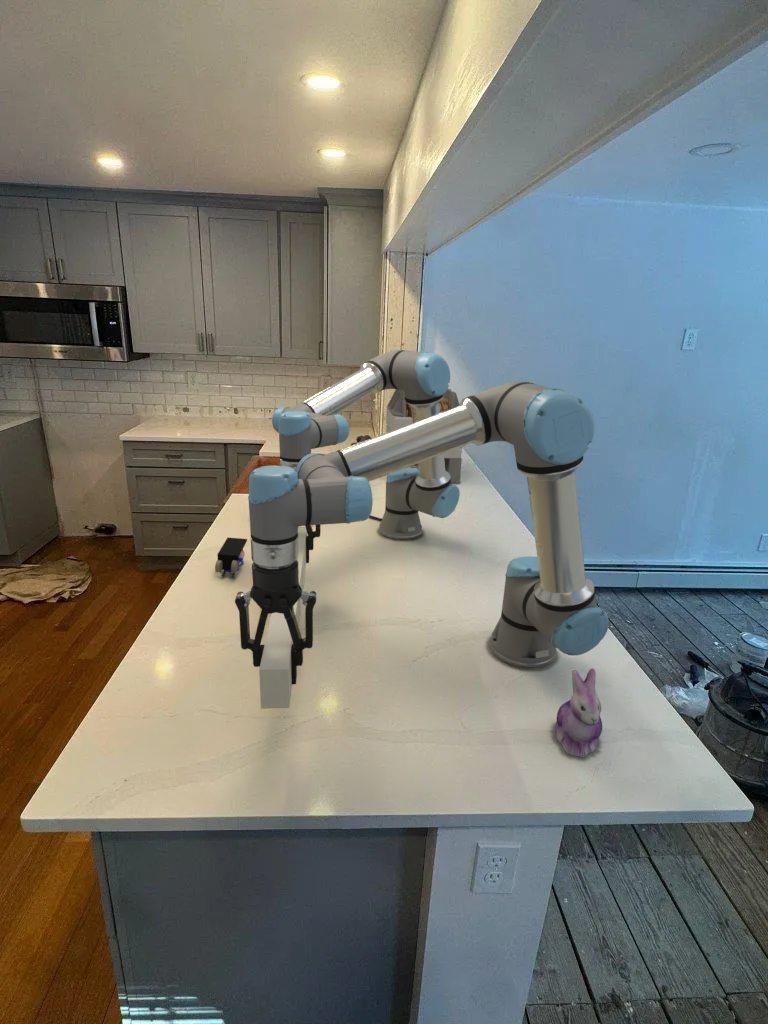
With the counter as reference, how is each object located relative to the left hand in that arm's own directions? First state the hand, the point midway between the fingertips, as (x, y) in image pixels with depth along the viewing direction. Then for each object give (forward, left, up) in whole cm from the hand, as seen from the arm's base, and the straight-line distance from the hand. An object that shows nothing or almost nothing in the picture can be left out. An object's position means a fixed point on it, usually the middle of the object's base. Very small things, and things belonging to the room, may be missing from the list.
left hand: (297, 560), depth 148 cm
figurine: (+76, +13, -12) cm, 78 cm away
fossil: (-117, +113, -12) cm, 163 cm away
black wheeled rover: (-27, -5, -12) cm, 30 cm away
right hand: (+41, -30, 0) cm, 51 cm away
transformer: (-72, +115, -12) cm, 137 cm away
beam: (+21, -15, -1) cm, 25 cm away
